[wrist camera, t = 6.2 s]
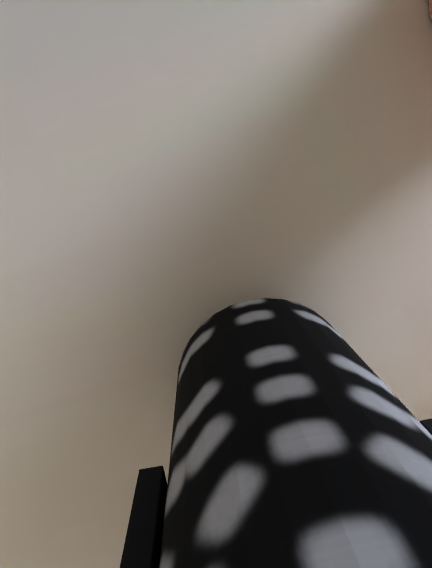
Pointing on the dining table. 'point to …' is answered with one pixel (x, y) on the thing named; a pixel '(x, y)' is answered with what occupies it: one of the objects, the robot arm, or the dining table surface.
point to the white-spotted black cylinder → (291, 451)
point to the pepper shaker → (430, 8)
